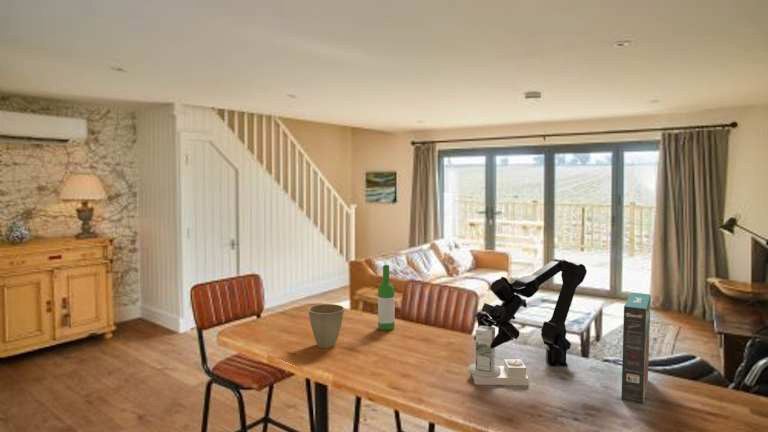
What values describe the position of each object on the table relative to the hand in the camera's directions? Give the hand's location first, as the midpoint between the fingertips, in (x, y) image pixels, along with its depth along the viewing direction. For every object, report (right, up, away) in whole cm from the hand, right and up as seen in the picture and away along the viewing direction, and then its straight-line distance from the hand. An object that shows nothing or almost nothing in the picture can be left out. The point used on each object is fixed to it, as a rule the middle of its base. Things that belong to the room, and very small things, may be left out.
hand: (482, 343), depth 170 cm
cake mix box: (+49, -13, -9) cm, 51 cm away
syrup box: (+1, -9, +1) cm, 9 cm away
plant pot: (-59, -10, +37) cm, 70 cm away
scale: (+6, -12, +1) cm, 14 cm away
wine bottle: (-33, -9, +60) cm, 69 cm away
